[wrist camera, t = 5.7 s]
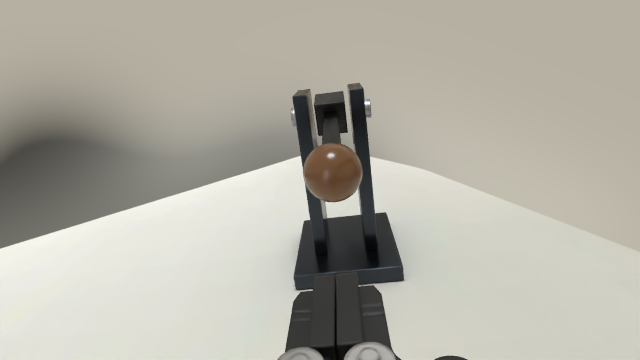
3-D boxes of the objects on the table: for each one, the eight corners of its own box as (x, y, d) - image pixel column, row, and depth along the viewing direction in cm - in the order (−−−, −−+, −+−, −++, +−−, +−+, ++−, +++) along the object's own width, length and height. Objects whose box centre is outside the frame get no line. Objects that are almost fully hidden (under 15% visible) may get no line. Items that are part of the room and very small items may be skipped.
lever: (367, 210, 21) (362, 154, 19) (306, 216, 21) (296, 162, 19) (352, 123, 32) (348, 85, 30) (313, 128, 32) (308, 90, 31)
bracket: (404, 280, 29) (390, 88, 25) (295, 290, 29) (264, 104, 25) (387, 223, 38) (375, 78, 34) (305, 231, 39) (284, 89, 35)
